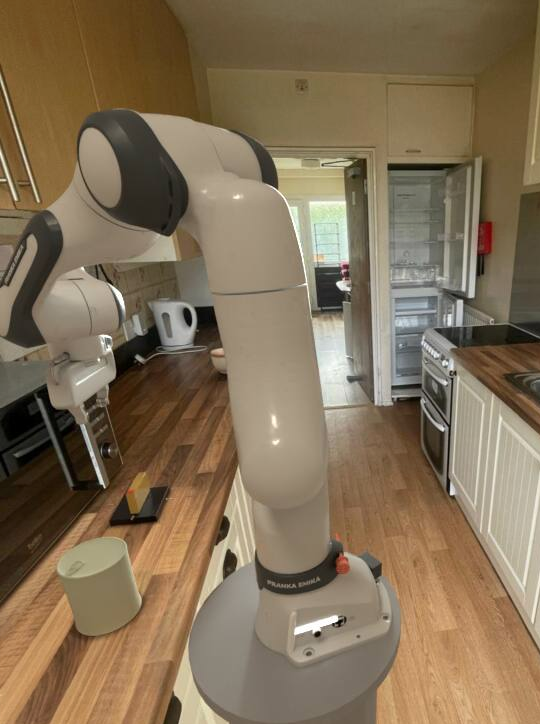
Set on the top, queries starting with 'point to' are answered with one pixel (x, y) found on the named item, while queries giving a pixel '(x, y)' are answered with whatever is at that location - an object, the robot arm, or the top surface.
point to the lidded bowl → (219, 360)
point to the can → (99, 585)
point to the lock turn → (138, 493)
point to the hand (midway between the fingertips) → (94, 414)
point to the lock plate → (147, 512)
